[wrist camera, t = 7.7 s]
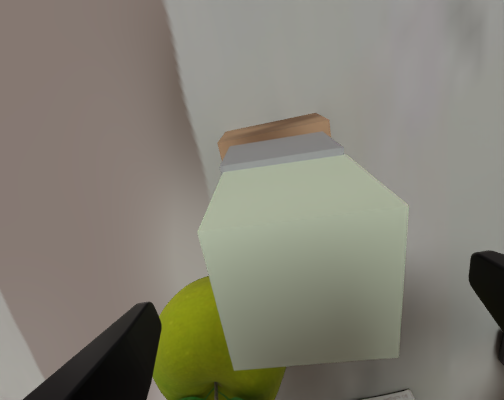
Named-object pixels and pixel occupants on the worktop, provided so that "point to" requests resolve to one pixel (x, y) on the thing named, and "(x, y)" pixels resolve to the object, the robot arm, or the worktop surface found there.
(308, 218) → the sage cube
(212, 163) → the worktop surface
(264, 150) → the tower mid
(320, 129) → the tower base
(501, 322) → the robot arm
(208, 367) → the fruit
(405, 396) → the supplement box
